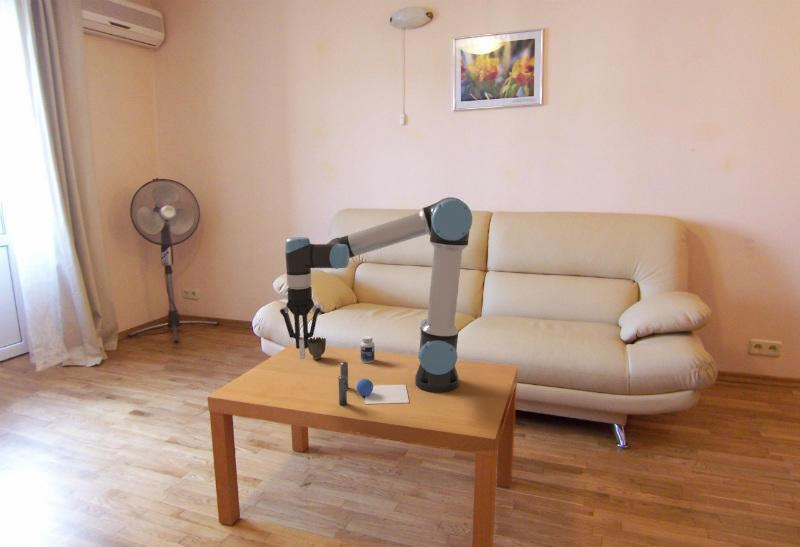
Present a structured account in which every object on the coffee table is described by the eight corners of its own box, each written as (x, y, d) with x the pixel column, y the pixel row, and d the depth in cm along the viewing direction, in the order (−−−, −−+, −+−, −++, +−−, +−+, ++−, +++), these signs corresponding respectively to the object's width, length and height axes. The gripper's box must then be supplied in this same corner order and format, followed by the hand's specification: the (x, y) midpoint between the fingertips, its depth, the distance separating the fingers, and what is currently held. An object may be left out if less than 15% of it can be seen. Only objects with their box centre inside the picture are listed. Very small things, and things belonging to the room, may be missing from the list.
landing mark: (405, 385, 176) (405, 384, 176) (409, 402, 163) (409, 402, 163) (365, 386, 175) (365, 385, 175) (365, 404, 162) (365, 403, 162)
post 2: (347, 402, 163) (346, 375, 162) (346, 405, 161) (346, 378, 159) (339, 402, 163) (338, 375, 161) (338, 405, 161) (338, 378, 159)
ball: (357, 392, 171) (373, 390, 171) (357, 399, 166) (374, 397, 166) (355, 377, 170) (372, 375, 170) (355, 383, 165) (372, 381, 165)
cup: (324, 362, 198) (324, 342, 197) (306, 362, 198) (305, 342, 197) (327, 355, 206) (327, 336, 204) (309, 355, 206) (309, 336, 204)
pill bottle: (359, 362, 197) (358, 338, 196) (363, 358, 203) (362, 334, 201) (372, 364, 196) (372, 339, 194) (376, 359, 201) (375, 335, 200)
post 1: (348, 386, 175) (347, 361, 174) (348, 389, 173) (347, 364, 171) (341, 386, 175) (340, 361, 174) (340, 389, 173) (340, 364, 171)
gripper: (321, 283, 164) (324, 353, 169) (280, 284, 163) (284, 354, 168) (319, 288, 157) (322, 361, 161) (276, 289, 156) (280, 362, 161)
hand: (302, 357), depth 165 cm, fingers closed
